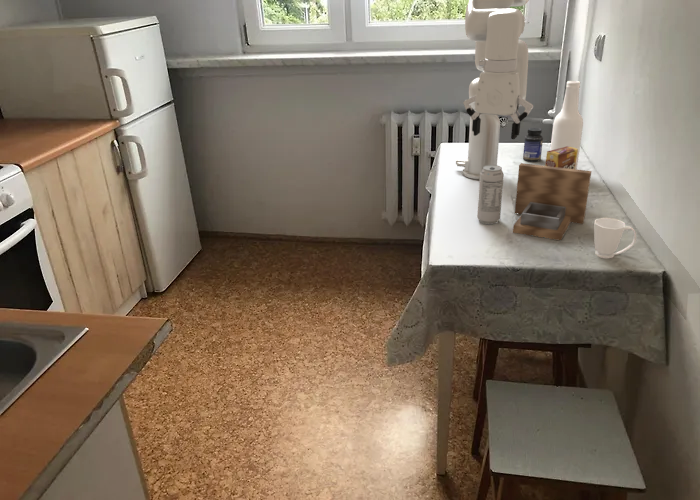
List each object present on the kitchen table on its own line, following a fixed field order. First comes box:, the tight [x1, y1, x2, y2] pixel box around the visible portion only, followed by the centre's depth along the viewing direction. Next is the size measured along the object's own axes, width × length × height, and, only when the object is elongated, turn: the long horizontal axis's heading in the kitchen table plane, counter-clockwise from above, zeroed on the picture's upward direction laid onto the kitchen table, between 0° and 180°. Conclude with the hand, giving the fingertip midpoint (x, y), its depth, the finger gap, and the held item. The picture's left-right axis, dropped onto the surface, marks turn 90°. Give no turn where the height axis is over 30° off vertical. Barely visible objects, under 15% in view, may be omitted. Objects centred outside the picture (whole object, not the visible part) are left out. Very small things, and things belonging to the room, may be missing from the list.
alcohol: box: [549, 80, 584, 170], centre depth 183 cm, size 9×9×30 cm
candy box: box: [544, 146, 578, 169], centre depth 166 cm, size 9×4×15 cm, turn 123°
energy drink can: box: [476, 164, 505, 225], centre depth 154 cm, size 6×6×15 cm
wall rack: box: [512, 162, 592, 241], centre depth 150 cm, size 18×15×14 cm
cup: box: [593, 217, 638, 260], centre depth 135 cm, size 7×10×8 cm
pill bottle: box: [522, 127, 544, 163], centre depth 204 cm, size 6×6×11 cm
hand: (495, 136), depth 148 cm, fingers open, 9 cm apart
